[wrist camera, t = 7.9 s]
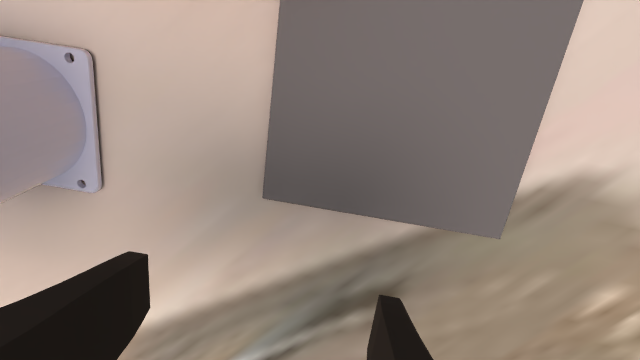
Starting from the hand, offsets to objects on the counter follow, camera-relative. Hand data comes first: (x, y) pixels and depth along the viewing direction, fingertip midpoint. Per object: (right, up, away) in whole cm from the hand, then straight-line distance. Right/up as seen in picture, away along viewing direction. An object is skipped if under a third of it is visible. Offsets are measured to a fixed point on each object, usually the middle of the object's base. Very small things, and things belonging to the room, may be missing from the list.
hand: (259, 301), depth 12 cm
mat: (+6, +8, +8) cm, 12 cm away
